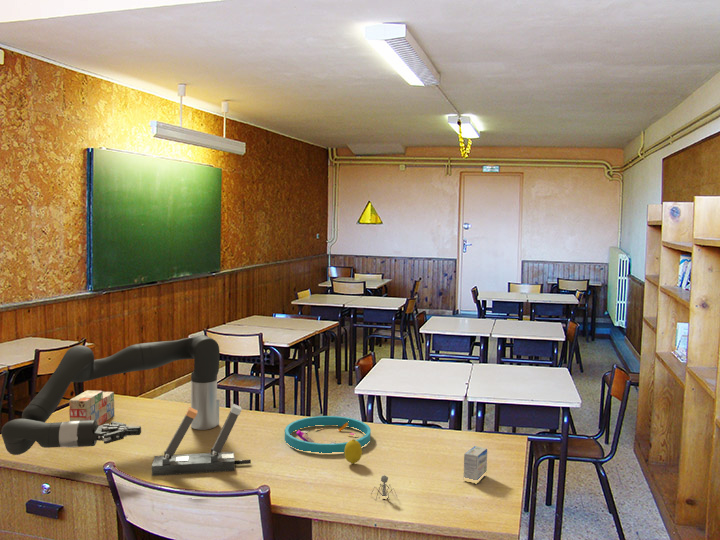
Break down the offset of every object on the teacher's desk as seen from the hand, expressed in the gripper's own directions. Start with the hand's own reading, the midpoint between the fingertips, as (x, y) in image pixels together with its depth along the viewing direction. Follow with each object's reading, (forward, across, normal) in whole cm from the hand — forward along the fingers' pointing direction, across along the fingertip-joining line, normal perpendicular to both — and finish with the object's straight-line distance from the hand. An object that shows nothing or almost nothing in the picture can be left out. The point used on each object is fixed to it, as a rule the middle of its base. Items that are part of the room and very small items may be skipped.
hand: (140, 430), depth 187 cm
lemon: (+64, +3, -14) cm, 65 cm away
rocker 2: (+21, -1, -9) cm, 23 cm away
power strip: (+18, -1, -13) cm, 22 cm away
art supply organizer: (+60, -20, -14) cm, 65 cm away
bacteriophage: (+68, +28, -14) cm, 75 cm away
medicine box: (+98, +20, -14) cm, 101 cm away
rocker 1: (+7, -1, -9) cm, 12 cm away
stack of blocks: (-23, -48, -14) cm, 55 cm away
